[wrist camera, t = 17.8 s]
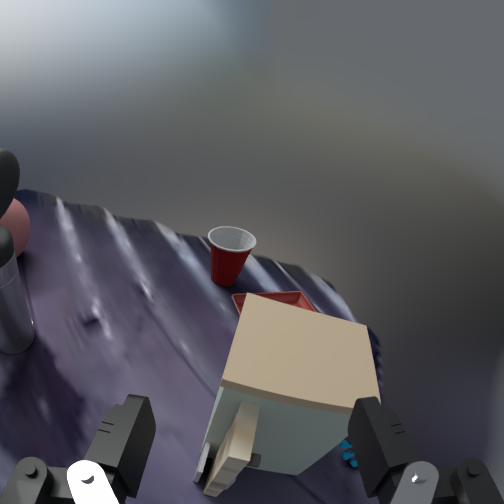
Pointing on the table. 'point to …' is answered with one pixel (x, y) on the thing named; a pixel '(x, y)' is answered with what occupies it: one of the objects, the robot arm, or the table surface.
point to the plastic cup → (229, 253)
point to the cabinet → (291, 383)
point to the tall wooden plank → (234, 450)
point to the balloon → (17, 225)
